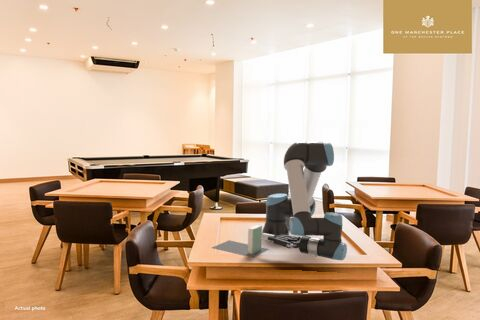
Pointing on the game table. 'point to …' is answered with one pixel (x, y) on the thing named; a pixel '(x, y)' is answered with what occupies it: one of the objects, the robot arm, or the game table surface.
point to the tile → (254, 239)
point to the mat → (238, 248)
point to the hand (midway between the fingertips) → (263, 236)
